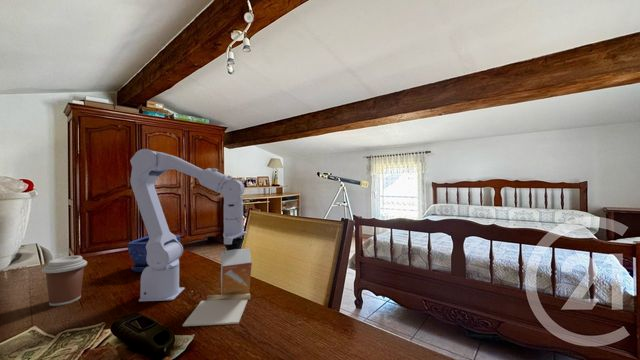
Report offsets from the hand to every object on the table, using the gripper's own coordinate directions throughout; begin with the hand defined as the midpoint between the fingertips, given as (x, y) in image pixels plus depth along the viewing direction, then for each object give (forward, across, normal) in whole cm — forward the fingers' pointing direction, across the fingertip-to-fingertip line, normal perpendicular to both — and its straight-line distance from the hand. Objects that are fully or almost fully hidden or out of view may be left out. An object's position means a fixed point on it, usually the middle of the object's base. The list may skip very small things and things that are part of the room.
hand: (233, 261), depth 78 cm
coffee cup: (+9, 0, +47) cm, 48 cm away
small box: (+8, 0, 0) cm, 8 cm away
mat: (+10, -11, +1) cm, 15 cm away
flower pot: (+10, +26, +36) cm, 45 cm away
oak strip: (+10, -5, 0) cm, 11 cm away
